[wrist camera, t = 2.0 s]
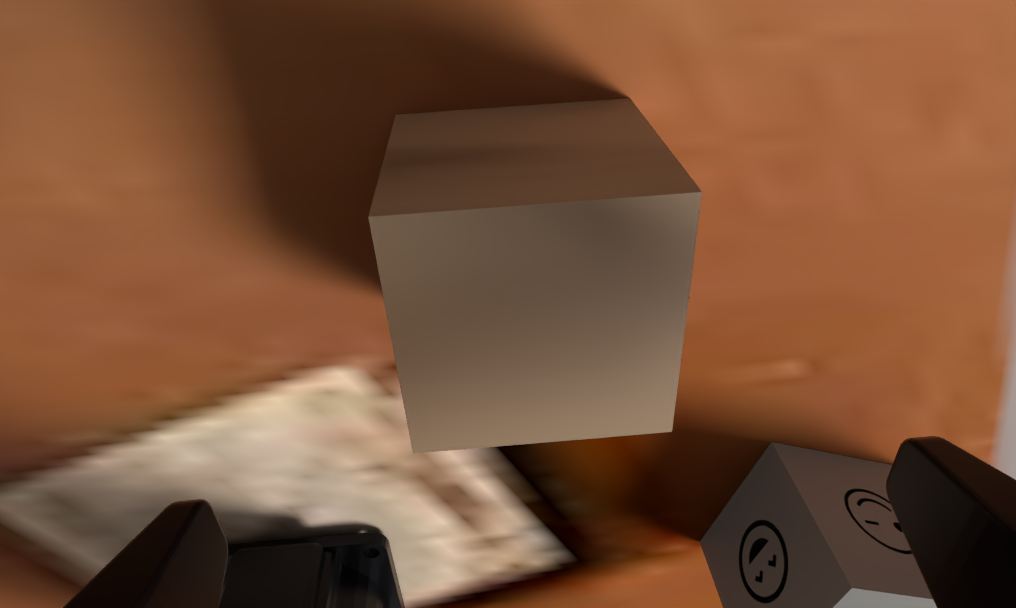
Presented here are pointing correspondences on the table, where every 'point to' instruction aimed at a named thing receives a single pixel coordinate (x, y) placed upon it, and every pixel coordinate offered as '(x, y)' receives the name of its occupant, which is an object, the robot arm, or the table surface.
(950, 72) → the table surface
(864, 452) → the table surface
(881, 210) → the table surface
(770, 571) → the dice cube
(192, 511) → the robot arm
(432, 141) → the metal cube
